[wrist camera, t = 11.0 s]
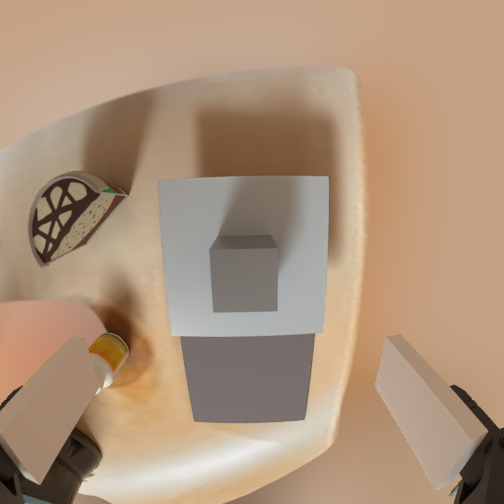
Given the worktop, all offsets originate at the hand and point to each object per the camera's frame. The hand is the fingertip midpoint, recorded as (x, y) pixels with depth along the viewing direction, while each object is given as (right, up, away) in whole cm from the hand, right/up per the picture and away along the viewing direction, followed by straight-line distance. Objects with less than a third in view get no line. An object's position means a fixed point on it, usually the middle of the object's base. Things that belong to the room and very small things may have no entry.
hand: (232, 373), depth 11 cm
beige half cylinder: (-20, +11, +23) cm, 32 cm away
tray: (0, -14, +28) cm, 31 cm away
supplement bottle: (-20, -9, +27) cm, 35 cm away
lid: (0, +4, +18) cm, 18 cm away
